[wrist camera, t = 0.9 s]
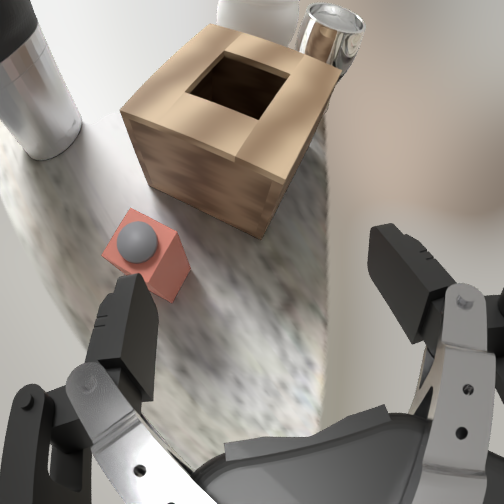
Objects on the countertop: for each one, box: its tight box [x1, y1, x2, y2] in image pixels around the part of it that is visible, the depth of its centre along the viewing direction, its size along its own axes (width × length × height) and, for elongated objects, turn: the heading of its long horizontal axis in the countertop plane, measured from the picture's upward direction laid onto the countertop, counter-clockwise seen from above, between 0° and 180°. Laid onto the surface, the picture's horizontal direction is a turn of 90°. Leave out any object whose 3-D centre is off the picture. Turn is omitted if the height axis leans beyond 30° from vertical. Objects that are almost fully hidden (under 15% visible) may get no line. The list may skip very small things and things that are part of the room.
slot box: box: [120, 24, 342, 240], centre depth 29 cm, size 14×14×13 cm
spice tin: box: [101, 208, 191, 303], centre depth 26 cm, size 4×4×12 cm
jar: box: [217, 0, 300, 47], centre depth 34 cm, size 11×10×15 cm
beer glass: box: [295, 2, 366, 115], centre depth 32 cm, size 7×7×15 cm
